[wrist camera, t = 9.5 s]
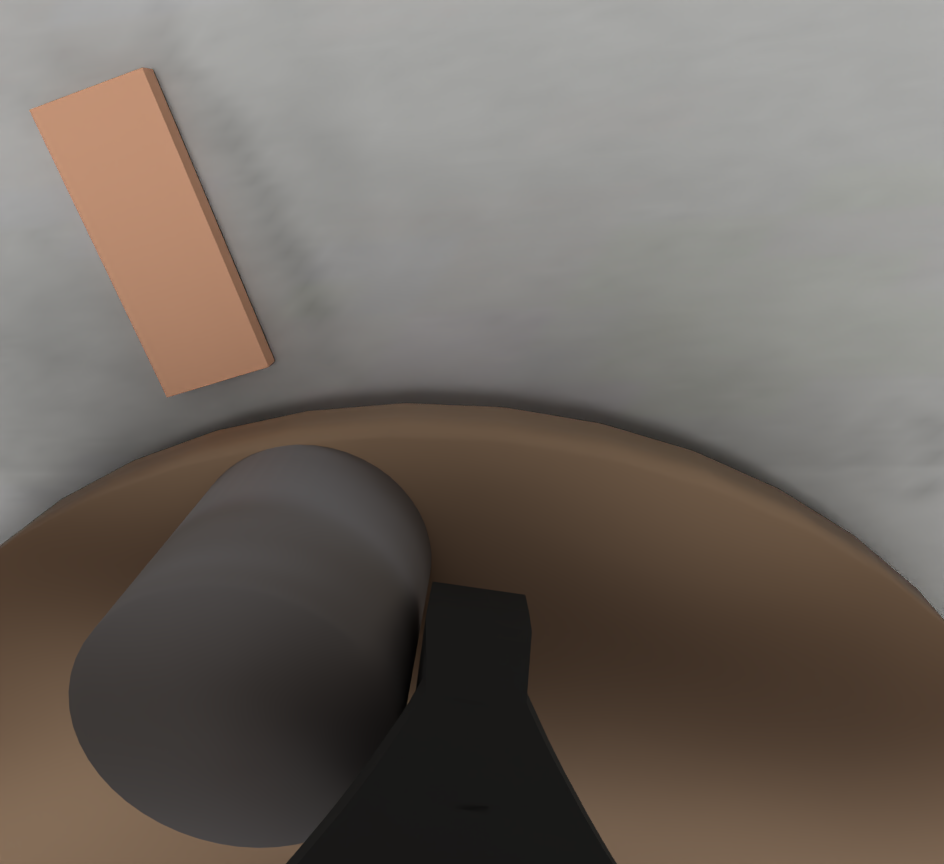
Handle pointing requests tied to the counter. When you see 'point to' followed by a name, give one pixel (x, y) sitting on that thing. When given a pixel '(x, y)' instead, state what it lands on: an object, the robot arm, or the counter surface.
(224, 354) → the salmon orange flat slab
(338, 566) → the disc
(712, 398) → the counter surface
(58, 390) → the counter surface
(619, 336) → the counter surface
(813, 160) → the counter surface
